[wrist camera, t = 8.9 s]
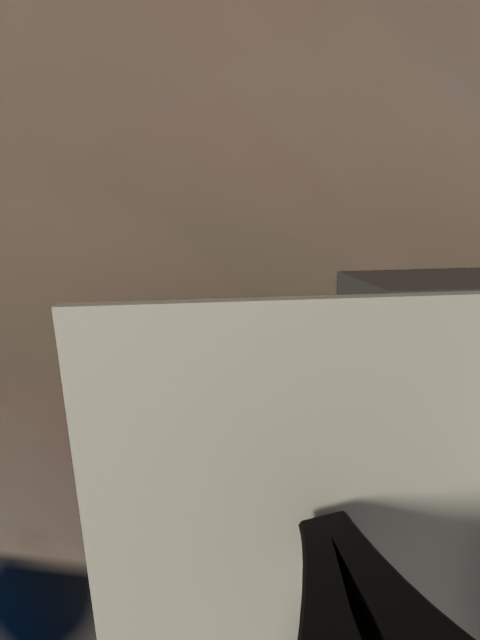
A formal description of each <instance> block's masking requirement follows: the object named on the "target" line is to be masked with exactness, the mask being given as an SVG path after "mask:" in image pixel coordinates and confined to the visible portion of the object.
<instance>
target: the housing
mask: <svg viewBox="0 0 480 640" xmlns="http://www.w3.org/2000/svg"><path fill="white" fill-rule="evenodd" d="M453 291H480V268H449V269H411V270H372V271H338V277H337V295H352V294H386V293H419V292H453Z"/></svg>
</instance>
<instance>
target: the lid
mask: <svg viewBox="0 0 480 640" xmlns="http://www.w3.org/2000/svg"><path fill="white" fill-rule="evenodd" d="M52 314H53V322H54V329H55V336H56V344H57V351H58V358H59V366H60V373H61V380H62V387H63V395H64V402H65V409H66V417H67V424H68V431H69V439H70V446H71V453H72V461H73V468H74V475H75V483H76V490H77V497H78V505H79V512H80V519H81V527H82V534H83V541H84V549H85V556H86V563H87V571H88V578H89V585H90V593H91V599H92V607H93V614H94V621H95V628H96V636H97V640H297V639H298V631H299V622H300V610H301V598H302V571H303V560H302V542H301V535H300V530H299V526H298V525H299V524H300V522H301V521H303V520H307V519H311V518H314V517H318V516H322V515H326V514H330V513H334V512H338V511H342V510H343V511H344V512H346V513H347V514H348V515H349V517H350V518H351V520H352V521H353V522H354V523H355V525H356V526H357V527H358V528H359V530H360V531H361V532H362V533H363V535H364V536H365V537H366V538H367V539H368V540H369V541H370V543H371V544H372V545H373V546H374V547H375V548H376V549H377V550H378V551H379V553H380V554H381V555H382V556H383V557H384V558H385V559H386V560H387V561H388V562H389V563H390V564H391V565H392V566H393V567H394V568H395V569H396V570H397V571H398V572H399V573H400V574H401V575H402V576H403V577H404V578H405V579H406V580H407V581H408V582H409V583H410V584H411V585H412V586H413V587H414V588H416V589H417V590H418V591H419V592H420V593H421V594H422V595H423V596H424V597H425V598H426V599H427V600H429V601H430V602H431V603H432V604H433V605H434V606H435V607H437V608H438V609H439V610H440V611H441V612H442V613H444V614H445V615H446V616H447V617H448V618H450V619H451V620H452V621H453V622H454V623H456V624H457V625H458V626H459V627H461V628H462V629H463V630H464V631H466V632H467V633H468V634H470V635H471V636H472V637H473V638H475V639H476V640H480V291H453V292H419V293H386V294H352V295H319V296H285V297H252V298H218V299H185V300H151V301H117V302H84V303H59V304H57V305H55V306H53V307H52Z"/></svg>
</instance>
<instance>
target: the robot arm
mask: <svg viewBox="0 0 480 640" xmlns="http://www.w3.org/2000/svg"><path fill="white" fill-rule="evenodd" d="M298 526H299V530H300V535H301V542H302V560H303V571H302V598H301V610H300V622H299V631H298V639H297V640H476V639H475V638H473V637H472V636H471V635H470V634H468V633H467V632H466V631H464V630H463V629H462V628H461V627H459V626H458V625H457V624H456V623H454V622H453V621H452V620H451V619H450V618H448V617H447V616H446V615H445V614H444V613H442V612H441V611H440V610H439V609H438V608H437V607H435V606H434V605H433V604H432V603H431V602H430V601H429V600H427V599H426V598H425V597H424V596H423V595H422V594H421V593H420V592H419V591H418V590H417V589H416V588H414V587H413V586H412V585H411V584H410V583H409V582H408V581H407V580H406V579H405V578H404V577H403V576H402V575H401V574H400V573H399V572H398V571H397V570H396V569H395V568H394V567H393V566H392V565H391V564H390V563H389V562H388V561H387V560H386V559H385V558H384V557H383V556H382V555H381V554H380V553H379V551H378V550H377V549H376V548H375V547H374V546H373V545H372V544H371V543H370V541H369V540H368V539H367V538H366V537H365V536H364V535H363V533H362V532H361V531H360V530H359V528H358V527H357V526H356V525H355V523H354V522H353V521H352V520H351V518H350V517H349V515H348V514H347V513H346V512H344V511H343V510H342V511H338V512H334V513H330V514H326V515H322V516H318V517H314V518H311V519H307V520H303V521H301V522H300V524H299V525H298Z"/></svg>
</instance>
